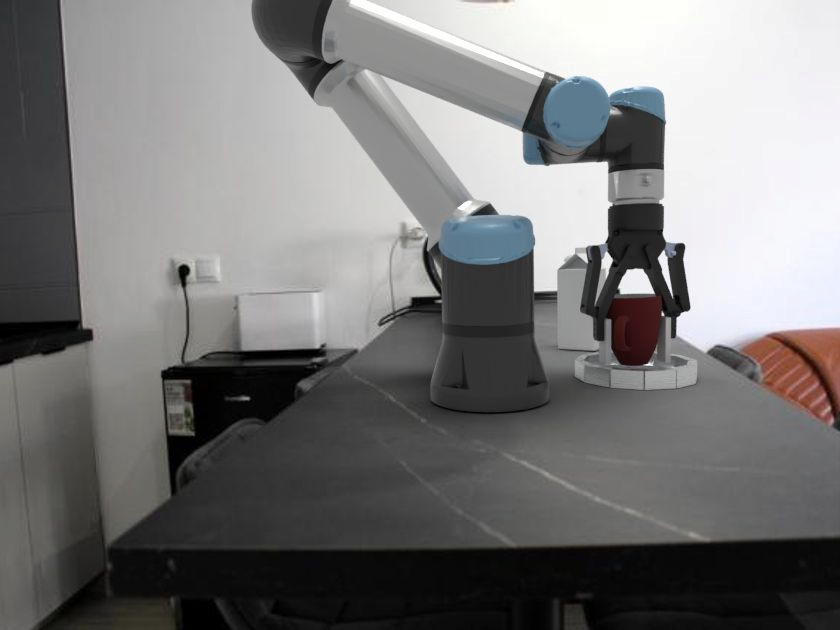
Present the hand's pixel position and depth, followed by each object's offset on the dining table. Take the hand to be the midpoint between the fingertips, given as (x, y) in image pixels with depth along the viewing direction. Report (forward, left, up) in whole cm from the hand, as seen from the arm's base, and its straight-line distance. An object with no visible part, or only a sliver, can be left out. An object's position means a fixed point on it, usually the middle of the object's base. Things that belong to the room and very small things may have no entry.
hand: (634, 362), depth 90 cm
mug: (0, 0, -1) cm, 1 cm away
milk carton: (+2, +28, -2) cm, 28 cm away
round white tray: (0, 0, -2) cm, 2 cm away
